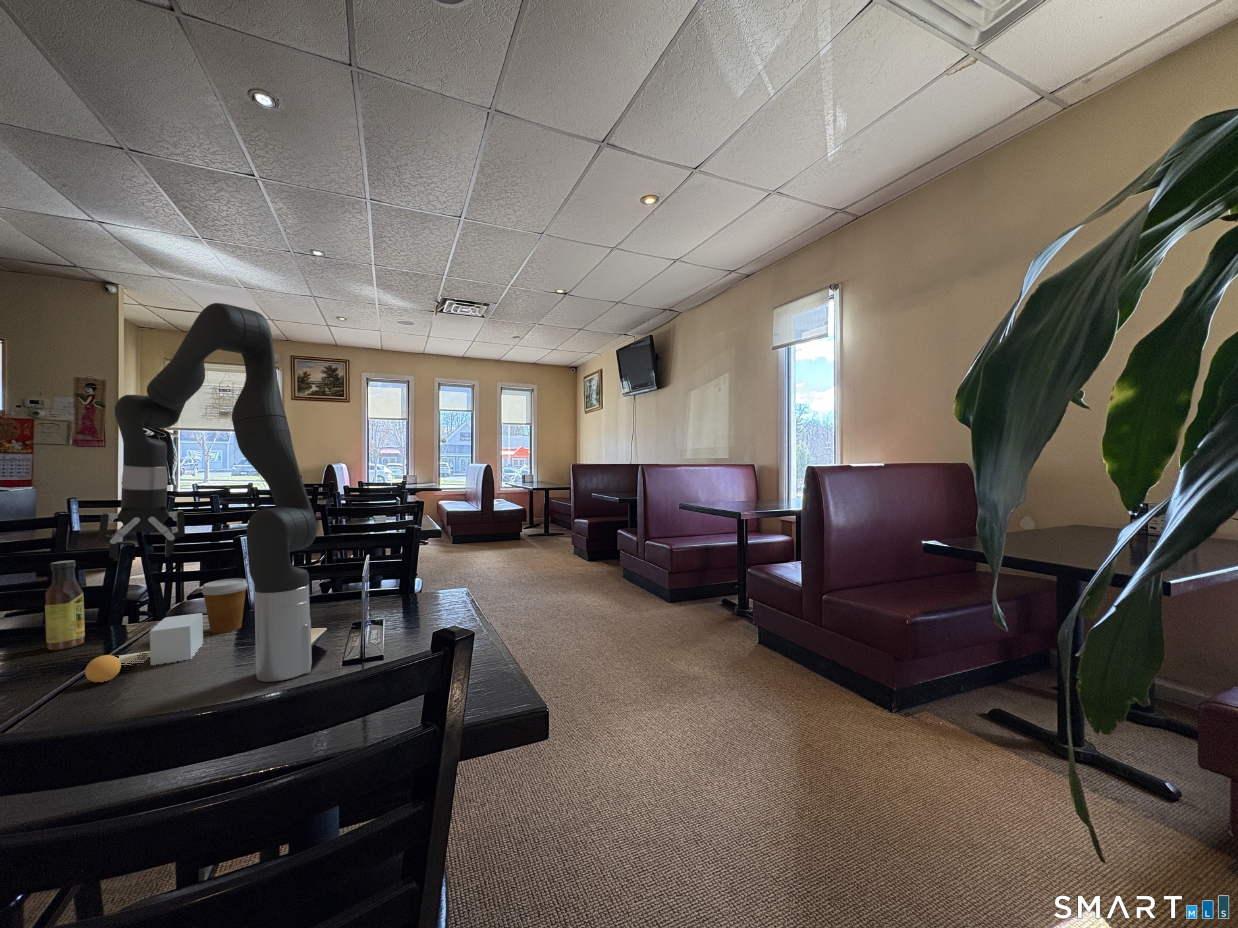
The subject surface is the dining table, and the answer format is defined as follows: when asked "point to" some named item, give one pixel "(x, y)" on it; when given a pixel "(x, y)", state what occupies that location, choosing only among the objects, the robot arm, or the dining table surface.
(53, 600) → the sauce bottle
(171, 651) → the white angular block
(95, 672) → the brown egg
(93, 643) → the dining table surface
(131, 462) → the robot arm
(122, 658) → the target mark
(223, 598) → the disposable coffee cup
